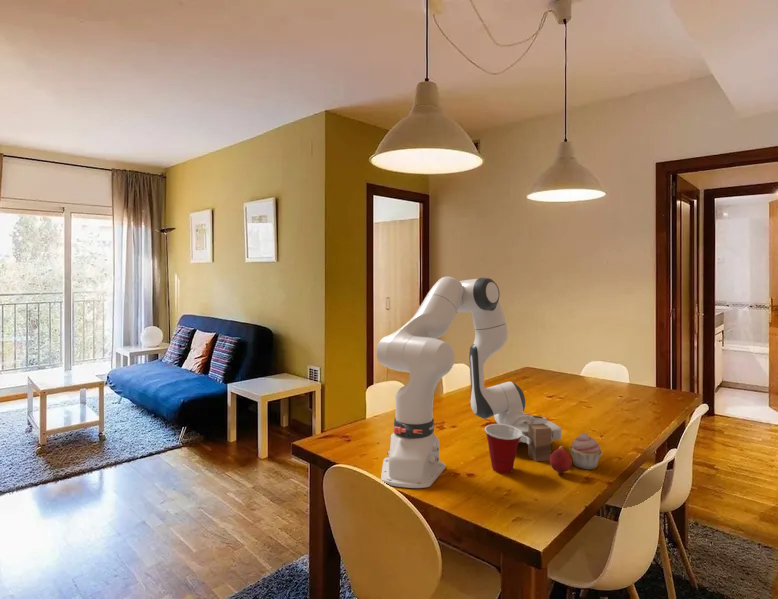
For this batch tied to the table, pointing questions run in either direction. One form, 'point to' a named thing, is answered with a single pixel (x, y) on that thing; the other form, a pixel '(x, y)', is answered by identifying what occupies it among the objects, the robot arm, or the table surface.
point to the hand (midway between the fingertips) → (540, 441)
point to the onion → (560, 460)
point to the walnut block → (539, 442)
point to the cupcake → (585, 452)
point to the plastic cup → (502, 446)
